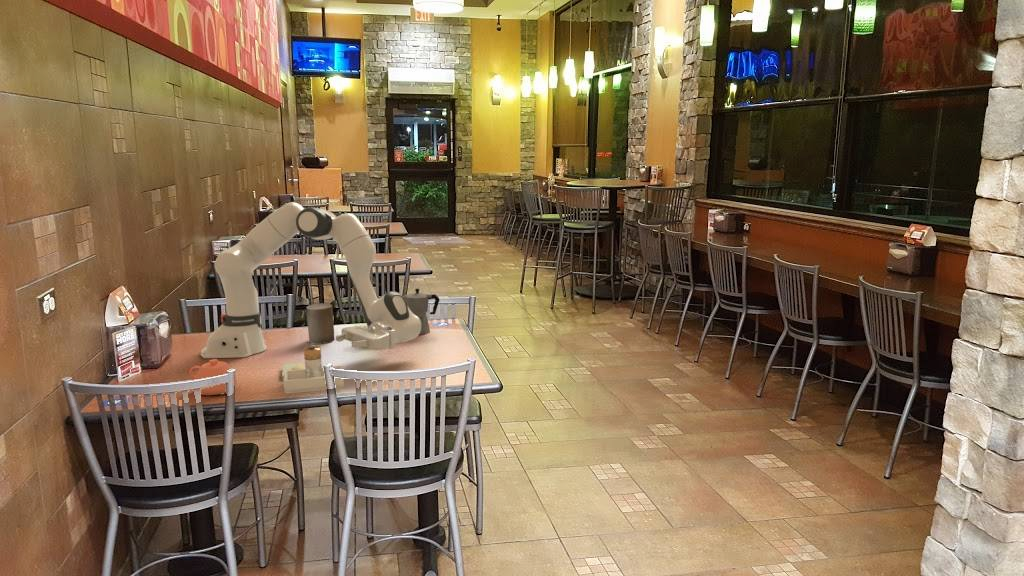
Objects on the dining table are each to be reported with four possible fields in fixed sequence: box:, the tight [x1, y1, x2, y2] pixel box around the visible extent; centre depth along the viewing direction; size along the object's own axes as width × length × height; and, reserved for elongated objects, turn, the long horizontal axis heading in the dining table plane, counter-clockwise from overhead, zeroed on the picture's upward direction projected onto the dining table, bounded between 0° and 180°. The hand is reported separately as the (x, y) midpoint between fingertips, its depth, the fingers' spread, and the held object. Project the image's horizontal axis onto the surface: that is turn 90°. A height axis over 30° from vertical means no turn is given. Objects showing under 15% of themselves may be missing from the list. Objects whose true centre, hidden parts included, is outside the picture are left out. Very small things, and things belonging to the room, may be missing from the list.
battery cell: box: [303, 344, 323, 378], centre depth 218 cm, size 5×5×12 cm
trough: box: [283, 365, 345, 394], centre depth 219 cm, size 18×11×4 cm, turn 106°
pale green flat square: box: [281, 362, 305, 381], centre depth 231 cm, size 12×12×2 cm
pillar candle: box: [306, 302, 336, 344], centre depth 269 cm, size 10×10×15 cm
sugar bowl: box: [189, 358, 238, 396], centre depth 213 cm, size 12×14×10 cm
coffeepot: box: [402, 288, 440, 335], centre depth 280 cm, size 15×9×18 cm, turn 88°
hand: (344, 341), depth 228 cm, fingers open, 8 cm apart
